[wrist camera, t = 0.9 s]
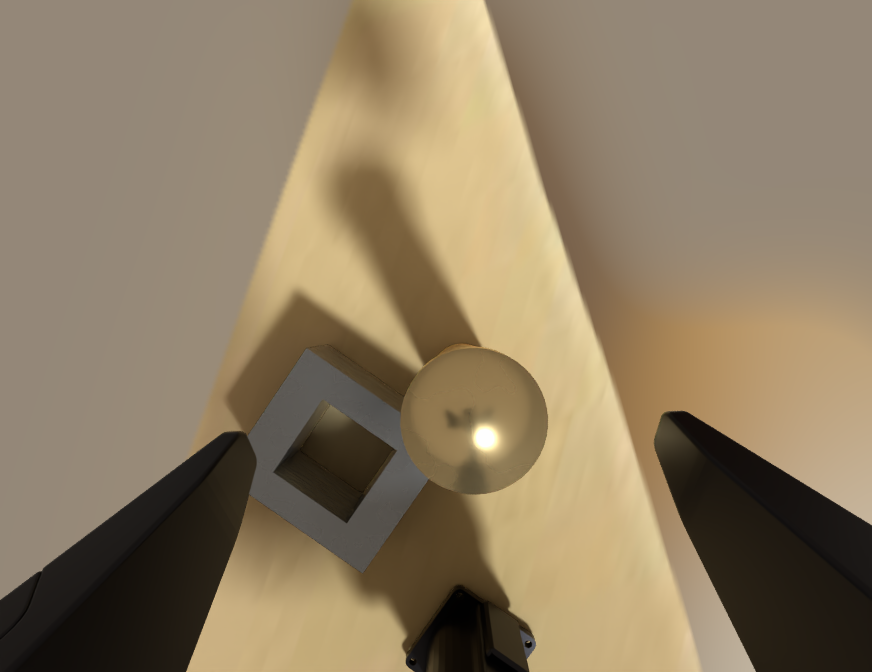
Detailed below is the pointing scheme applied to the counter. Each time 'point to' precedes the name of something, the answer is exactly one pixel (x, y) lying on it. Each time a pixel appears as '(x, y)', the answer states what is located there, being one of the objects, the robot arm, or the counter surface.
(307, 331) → the counter surface
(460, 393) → the flanged metal cylinder
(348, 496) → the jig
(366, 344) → the counter surface
